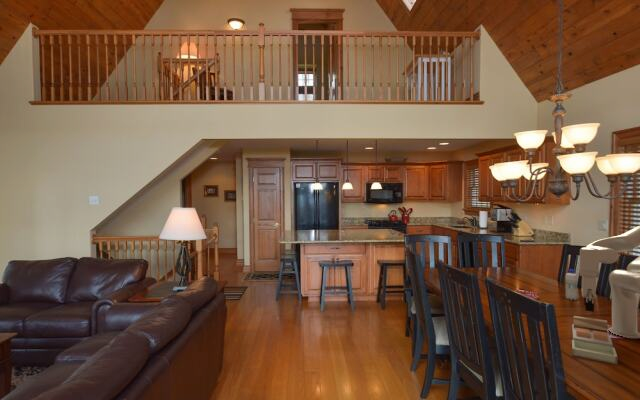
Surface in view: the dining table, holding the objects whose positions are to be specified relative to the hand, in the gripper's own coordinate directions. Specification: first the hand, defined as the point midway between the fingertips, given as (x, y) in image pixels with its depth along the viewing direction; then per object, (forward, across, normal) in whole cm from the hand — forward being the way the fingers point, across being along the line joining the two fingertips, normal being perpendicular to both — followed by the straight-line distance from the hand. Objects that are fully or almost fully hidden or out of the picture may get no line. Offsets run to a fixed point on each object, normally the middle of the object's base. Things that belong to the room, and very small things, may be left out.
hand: (588, 308), depth 172 cm
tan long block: (+10, 0, 0) cm, 10 cm away
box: (+14, +22, +1) cm, 26 cm away
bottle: (+14, -70, -5) cm, 71 cm away
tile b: (+10, +10, -3) cm, 14 cm away
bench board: (+14, +6, +1) cm, 16 cm away
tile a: (+10, +10, +4) cm, 14 cm away
